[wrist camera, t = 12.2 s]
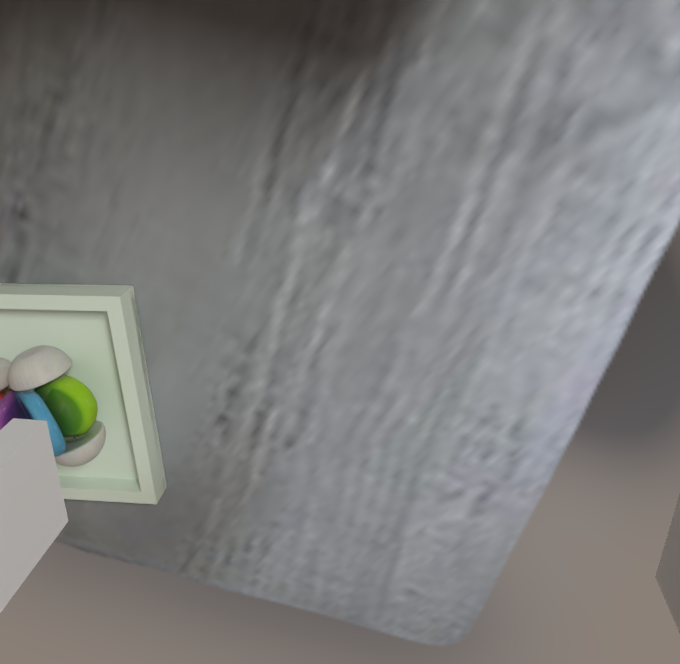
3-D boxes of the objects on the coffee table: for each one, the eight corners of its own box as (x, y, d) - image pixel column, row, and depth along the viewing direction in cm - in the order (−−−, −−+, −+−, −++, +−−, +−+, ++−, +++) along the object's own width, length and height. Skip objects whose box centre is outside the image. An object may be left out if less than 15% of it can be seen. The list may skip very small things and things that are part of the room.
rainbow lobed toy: (-38, 356, 44) (-118, 410, 38) (84, 330, 42) (22, 383, 36) (16, 456, 47) (-50, 522, 41) (132, 436, 45) (83, 503, 39)
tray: (-80, 281, 43) (-102, 292, 41) (133, 285, 41) (119, 296, 39) (-19, 476, 49) (-36, 492, 47) (166, 486, 47) (156, 504, 46)
